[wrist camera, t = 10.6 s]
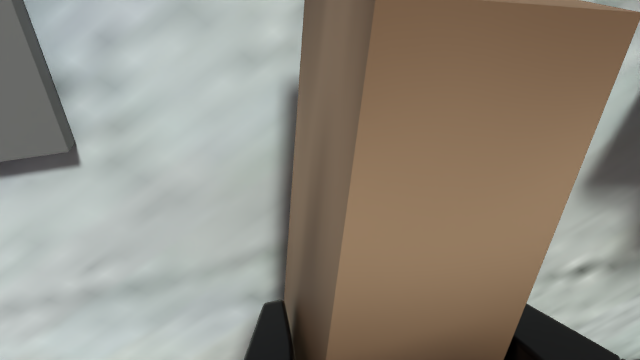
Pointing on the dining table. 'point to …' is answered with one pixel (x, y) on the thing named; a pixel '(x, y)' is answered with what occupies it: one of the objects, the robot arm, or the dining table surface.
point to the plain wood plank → (436, 167)
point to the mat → (27, 92)
